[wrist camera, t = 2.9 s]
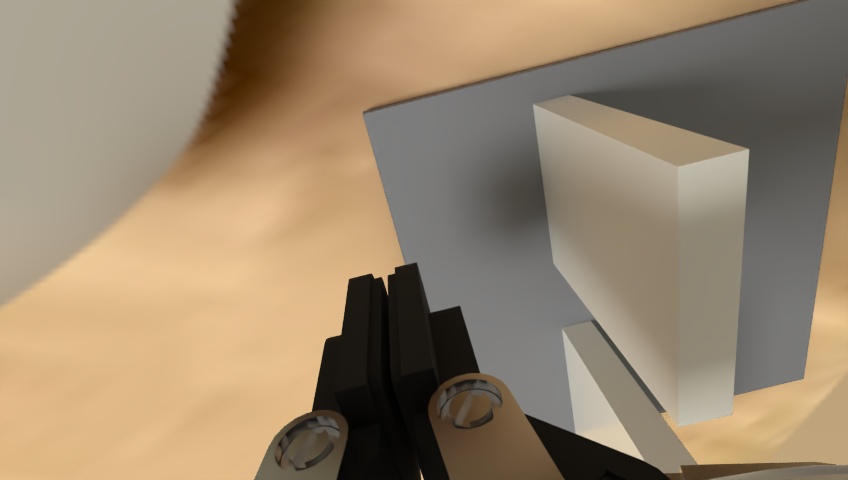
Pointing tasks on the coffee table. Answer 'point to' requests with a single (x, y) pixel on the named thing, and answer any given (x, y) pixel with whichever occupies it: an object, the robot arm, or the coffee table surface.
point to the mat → (650, 98)
